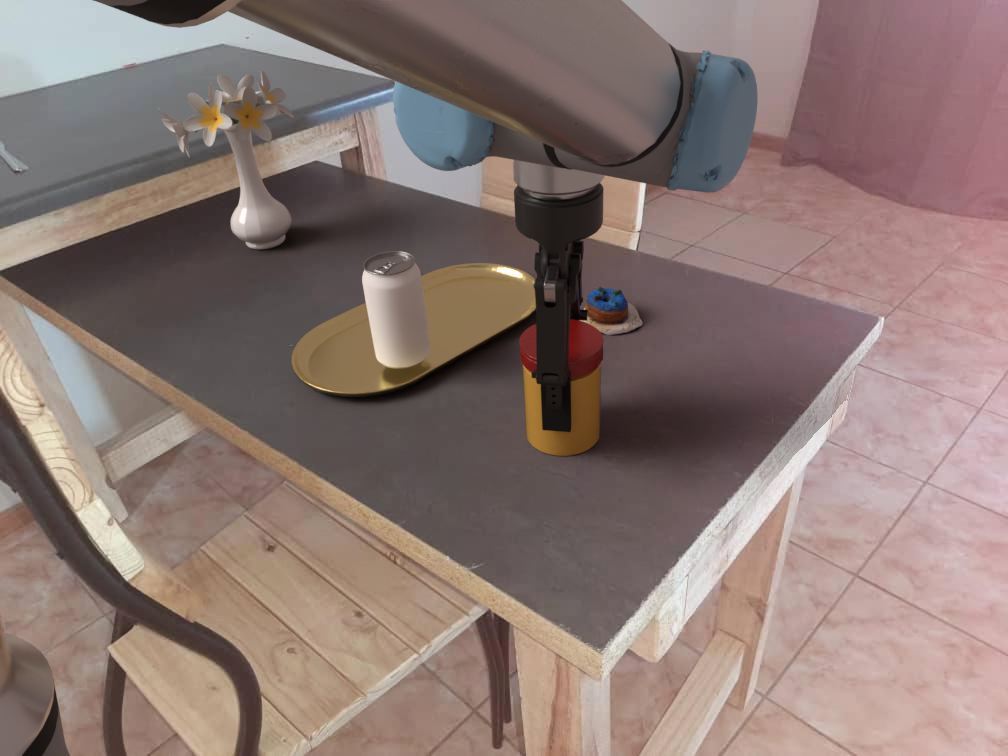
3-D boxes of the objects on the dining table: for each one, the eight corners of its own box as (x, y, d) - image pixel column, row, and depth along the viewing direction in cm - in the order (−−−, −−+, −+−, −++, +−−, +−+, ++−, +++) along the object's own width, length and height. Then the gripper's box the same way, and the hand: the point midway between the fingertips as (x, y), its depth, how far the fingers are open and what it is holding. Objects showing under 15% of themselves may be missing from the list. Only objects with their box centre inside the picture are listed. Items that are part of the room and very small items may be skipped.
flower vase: (190, 253, 122) (138, 88, 107) (291, 214, 132) (255, 60, 117) (231, 277, 114) (181, 103, 99) (335, 234, 124) (303, 71, 110)
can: (442, 348, 91) (430, 255, 85) (408, 376, 87) (393, 281, 80) (399, 334, 94) (385, 244, 88) (364, 361, 90) (346, 268, 83)
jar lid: (611, 339, 76) (611, 323, 75) (593, 384, 70) (593, 368, 69) (533, 329, 79) (533, 314, 78) (509, 373, 73) (508, 357, 72)
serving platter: (571, 301, 102) (571, 290, 101) (354, 426, 83) (352, 414, 82) (475, 260, 113) (474, 250, 113) (264, 362, 94) (261, 351, 93)
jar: (596, 459, 76) (597, 371, 70) (520, 453, 78) (515, 366, 72) (603, 412, 82) (604, 327, 76) (532, 407, 84) (528, 323, 78)
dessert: (564, 310, 99) (589, 270, 97) (597, 323, 103) (621, 284, 101) (600, 342, 93) (627, 300, 91) (634, 354, 98) (660, 314, 96)
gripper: (532, 142, 74) (540, 344, 87) (489, 234, 57) (506, 467, 70) (612, 142, 72) (607, 348, 85) (591, 237, 56) (590, 474, 69)
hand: (562, 401), depth 78 cm, fingers closed on jar lid, 8 cm apart
